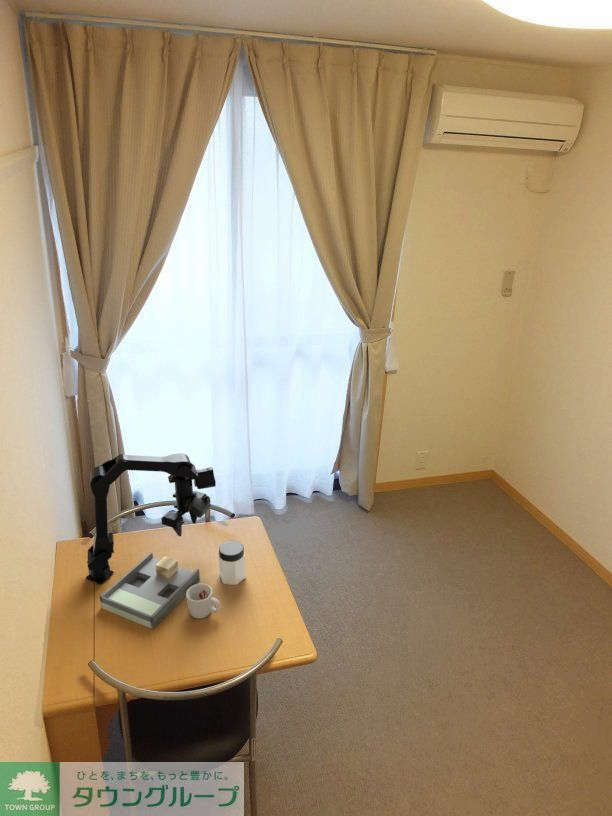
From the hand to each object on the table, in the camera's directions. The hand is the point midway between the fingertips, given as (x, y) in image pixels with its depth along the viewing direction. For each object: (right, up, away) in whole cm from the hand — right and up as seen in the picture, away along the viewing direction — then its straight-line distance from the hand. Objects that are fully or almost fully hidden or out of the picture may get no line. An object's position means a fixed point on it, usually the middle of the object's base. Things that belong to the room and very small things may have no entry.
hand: (187, 529), depth 187 cm
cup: (+10, -22, -19) cm, 31 cm away
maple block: (-5, -13, -6) cm, 15 cm away
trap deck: (-9, -18, -12) cm, 23 cm away
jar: (+16, -15, -3) cm, 22 cm away
